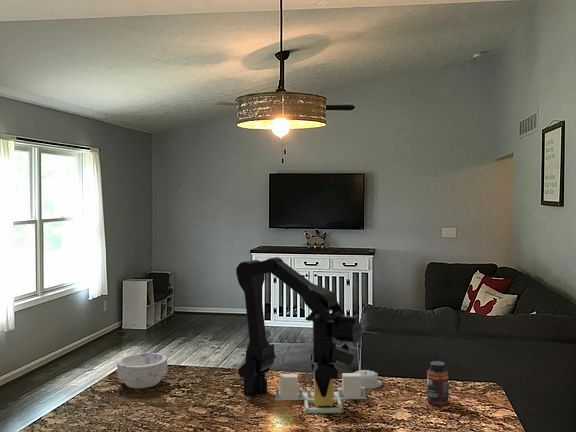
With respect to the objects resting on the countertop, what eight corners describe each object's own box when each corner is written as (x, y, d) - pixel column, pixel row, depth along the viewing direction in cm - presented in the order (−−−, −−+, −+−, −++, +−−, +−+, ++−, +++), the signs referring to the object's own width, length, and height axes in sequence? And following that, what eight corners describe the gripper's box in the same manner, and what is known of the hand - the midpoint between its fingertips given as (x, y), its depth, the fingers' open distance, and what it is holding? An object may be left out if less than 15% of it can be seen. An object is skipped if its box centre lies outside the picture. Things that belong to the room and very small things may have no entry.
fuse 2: (343, 397, 168) (343, 376, 168) (342, 393, 171) (342, 373, 171) (360, 396, 169) (360, 376, 168) (359, 393, 172) (359, 373, 171)
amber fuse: (314, 405, 159) (314, 376, 159) (313, 401, 162) (313, 373, 162) (333, 405, 159) (333, 376, 159) (331, 401, 162) (332, 372, 162)
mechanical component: (382, 393, 175) (380, 382, 185) (382, 378, 175) (380, 368, 185) (349, 392, 176) (349, 381, 186) (349, 377, 176) (349, 367, 186)
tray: (306, 416, 157) (306, 409, 156) (304, 405, 165) (304, 398, 164) (343, 416, 157) (343, 408, 157) (339, 405, 165) (339, 398, 165)
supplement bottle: (450, 400, 168) (450, 361, 168) (446, 407, 163) (446, 367, 163) (429, 397, 171) (429, 359, 170) (424, 404, 166) (425, 364, 165)
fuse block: (275, 403, 166) (275, 393, 166) (275, 396, 172) (274, 386, 172) (366, 402, 167) (366, 391, 167) (363, 394, 173) (363, 384, 173)
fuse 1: (280, 398, 168) (280, 377, 167) (280, 394, 171) (280, 374, 170) (298, 397, 168) (298, 377, 168) (297, 394, 171) (297, 373, 171)
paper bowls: (107, 389, 179) (106, 363, 178) (134, 374, 193) (134, 350, 193) (151, 394, 174) (151, 367, 174) (176, 378, 189) (176, 354, 188)
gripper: (358, 346, 151) (358, 406, 152) (348, 329, 170) (347, 383, 170) (314, 347, 150) (314, 407, 151) (309, 329, 169) (309, 383, 170)
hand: (323, 394), depth 161 cm, fingers closed on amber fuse, 3 cm apart
